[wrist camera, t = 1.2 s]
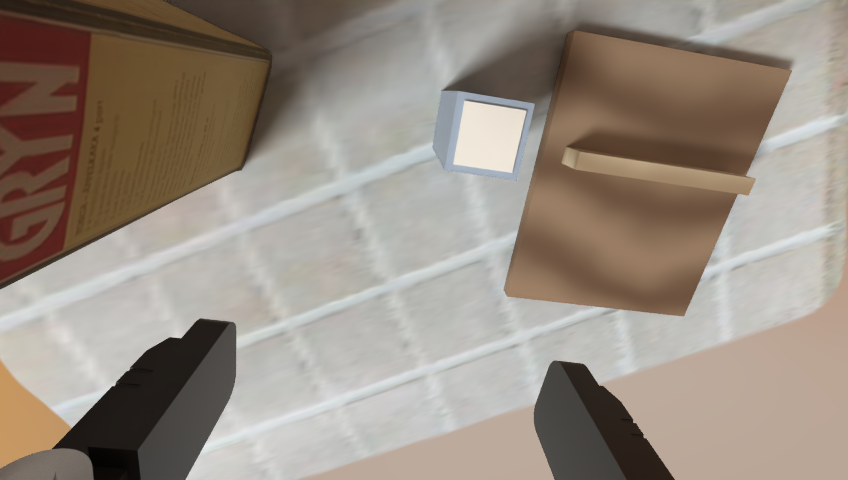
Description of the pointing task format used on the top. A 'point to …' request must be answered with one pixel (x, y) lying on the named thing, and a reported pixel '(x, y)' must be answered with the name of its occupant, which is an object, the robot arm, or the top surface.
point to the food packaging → (113, 118)
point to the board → (637, 172)
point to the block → (481, 134)
